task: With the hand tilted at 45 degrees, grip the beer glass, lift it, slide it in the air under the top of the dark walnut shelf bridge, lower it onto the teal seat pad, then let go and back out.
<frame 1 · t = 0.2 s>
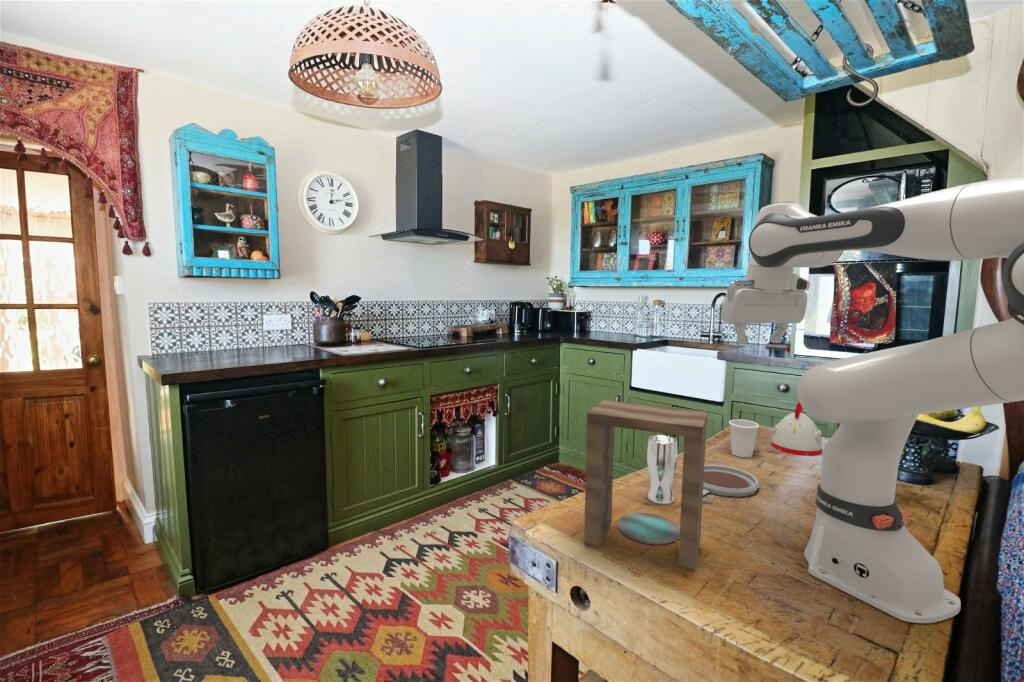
hand: (758, 343, 107), 39 cm above the counter, tool pointing down, fingers open, 8 cm apart
shelf bridge: (648, 528, 103), on the counter
dixie cup: (741, 455, 148), on the counter
beer glass: (660, 499, 117), on the counter
frying pan: (712, 491, 123), on the counter
kitchen timer: (795, 449, 154), on the counter
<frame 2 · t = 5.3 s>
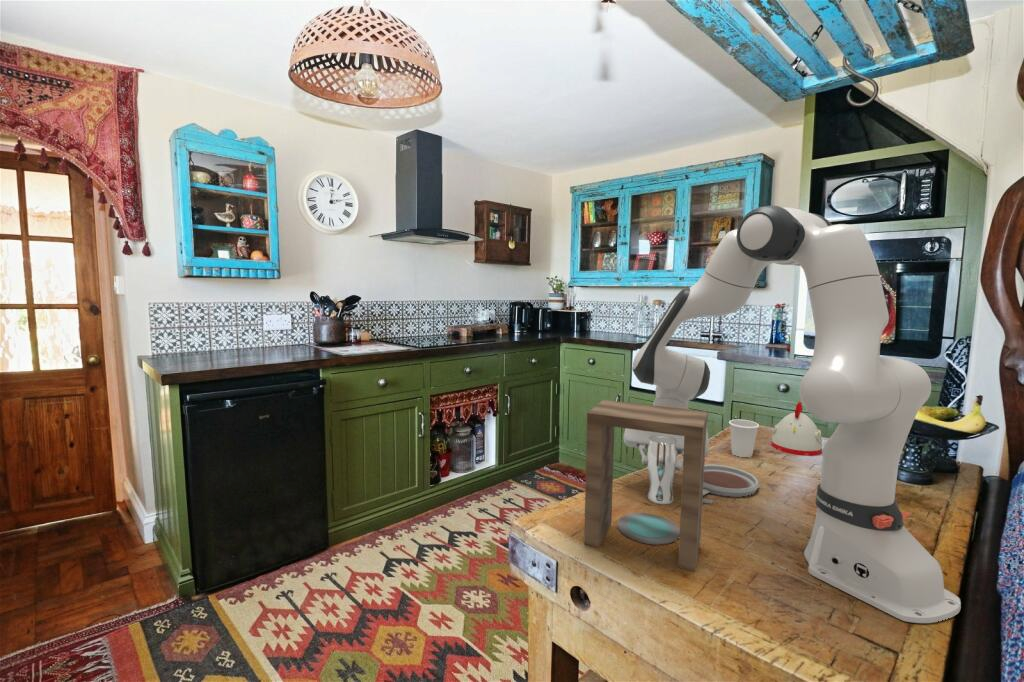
hand: (661, 466, 115), 8 cm above the counter, tool tilted 45°, fingers closed on beer glass, 6 cm apart
beer glass: (660, 499, 117), on the counter, touching gripper
everything else where it was.
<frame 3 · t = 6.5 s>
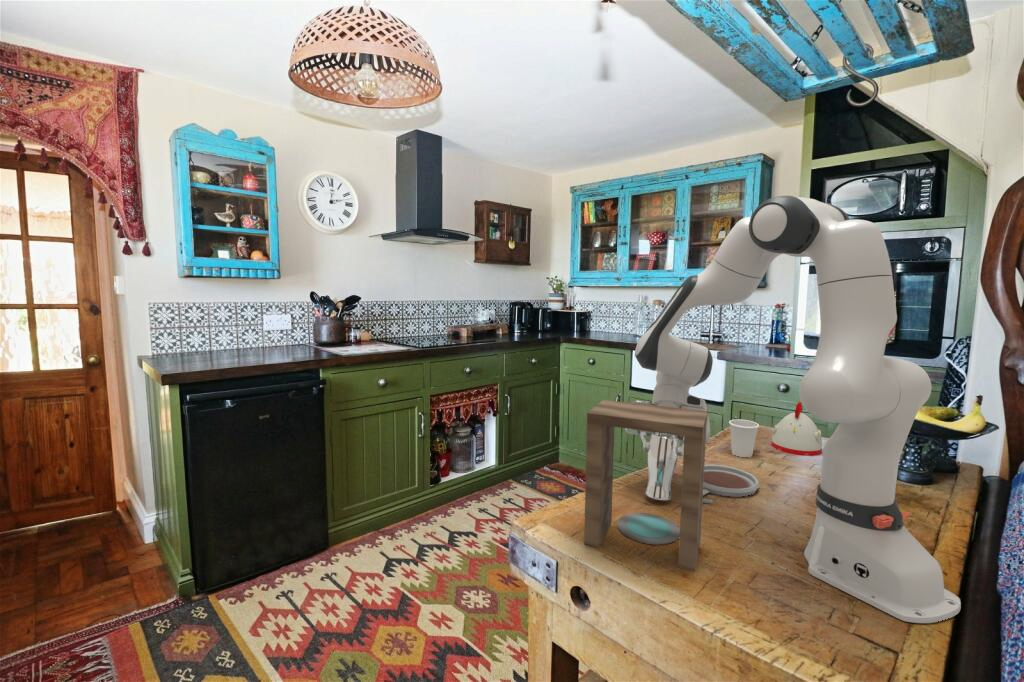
hand: (662, 452, 115), 12 cm above the counter, tool tilted 45°, fingers open, 6 cm apart
beer glass: (657, 496, 116), point 1 cm above the counter
everything else where it was.
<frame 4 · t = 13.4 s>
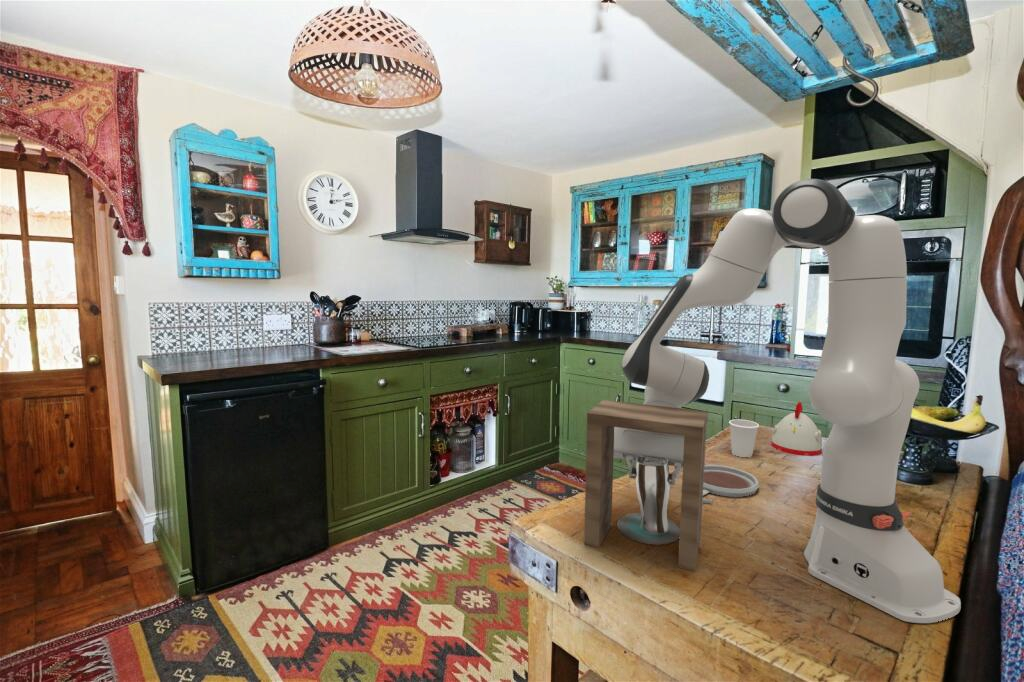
hand: (651, 480, 100), 11 cm above the counter, tool tilted 45°, fingers closed on beer glass, 6 cm apart
beer glass: (654, 529, 102), resting on shelf bridge, touching gripper
everything else where it was.
when the fingers open (11 cm above the counter, at t = 13.5 s): beer glass stays where it is, resting on shelf bridge.
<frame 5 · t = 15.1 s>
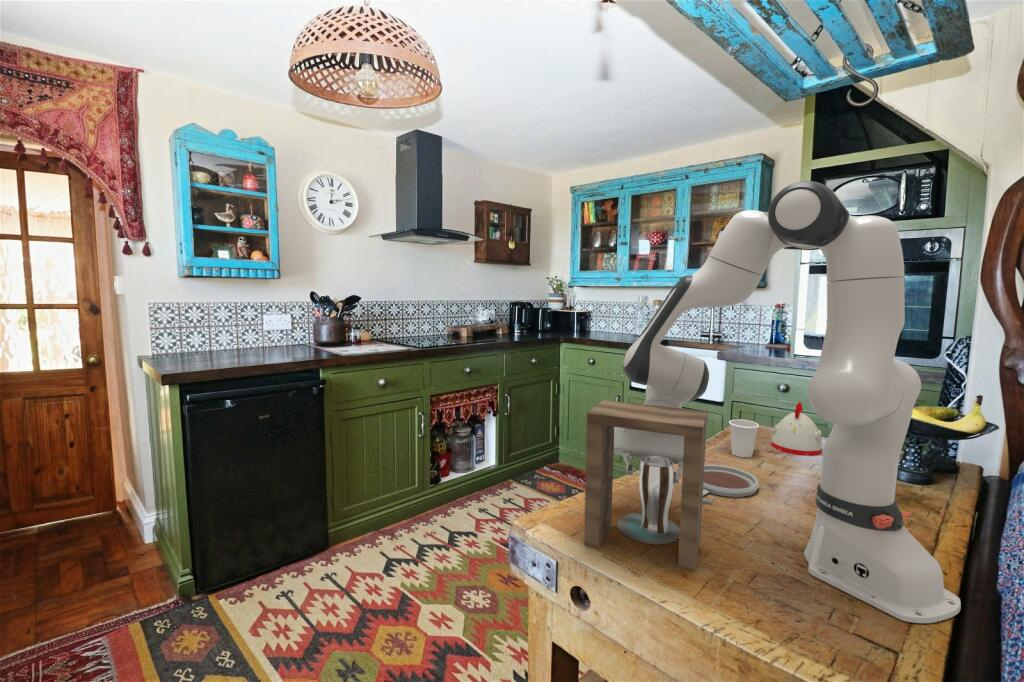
hand: (651, 477, 102), 11 cm above the counter, tool tilted 45°, fingers open, 8 cm apart
beer glass: (654, 530, 102), resting on shelf bridge
everything else where it was.
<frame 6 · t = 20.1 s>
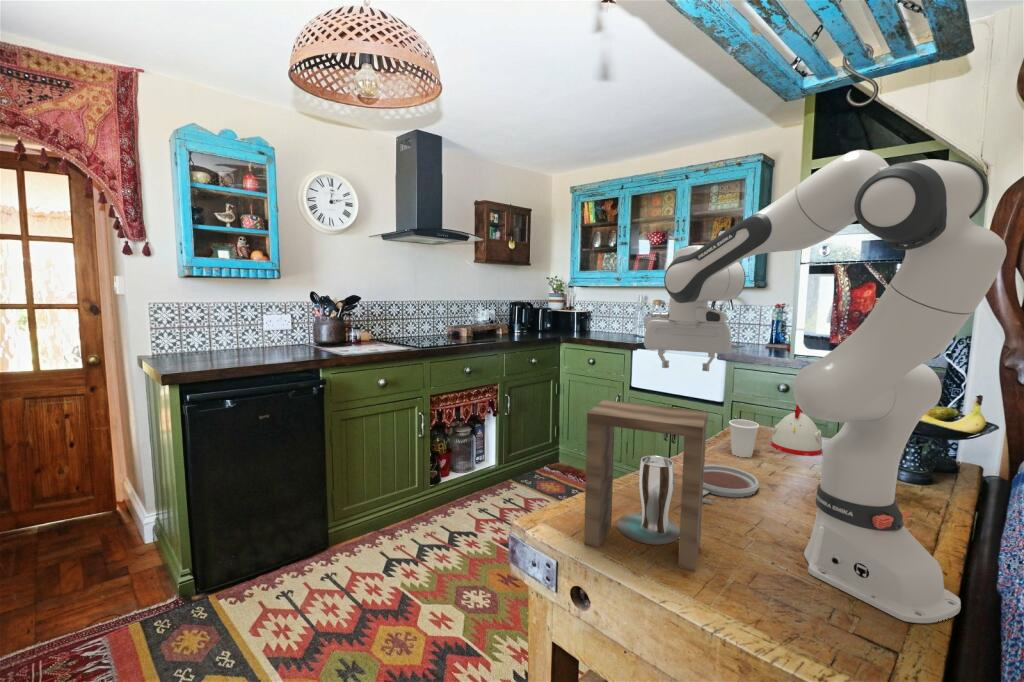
hand: (685, 369, 119), 31 cm above the counter, tool pointing down, fingers open, 8 cm apart
nothing on the counter moved.
at the end: beer glass 1.3 cm off-centre on the shelf bridge, point 0.2 cm above the shelf bridge's base; beer glass tilted 0°; the gripper is holding nothing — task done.
